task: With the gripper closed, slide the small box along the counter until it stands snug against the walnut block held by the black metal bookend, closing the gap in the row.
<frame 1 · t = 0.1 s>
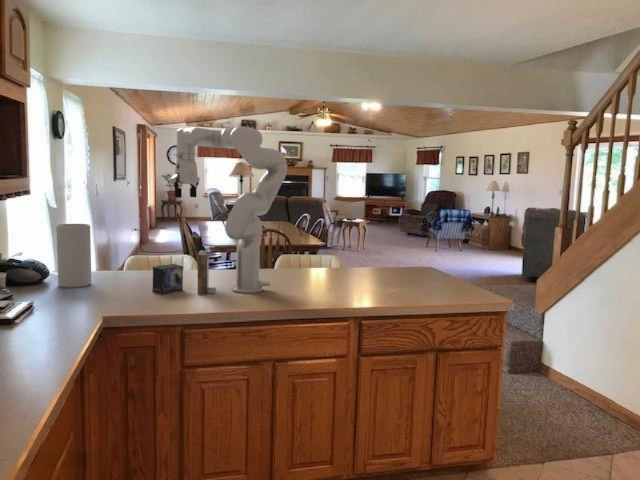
hand: (185, 197, 221), 37 cm above the worktop, tool pointing down, fingers open, 9 cm apart
metal bookend: (206, 291, 208), on the worktop
walnut block: (202, 291, 208), on the worktop
cylinder vase: (75, 285, 211), on the worktop
small box: (167, 292, 205), on the worktop
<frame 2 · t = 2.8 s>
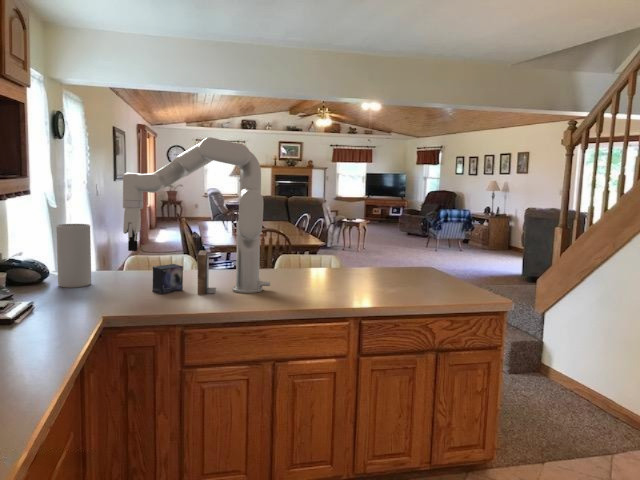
hand: (132, 250, 201), 17 cm above the worktop, tool pointing down, fingers closed
nothing on the worktop moved.
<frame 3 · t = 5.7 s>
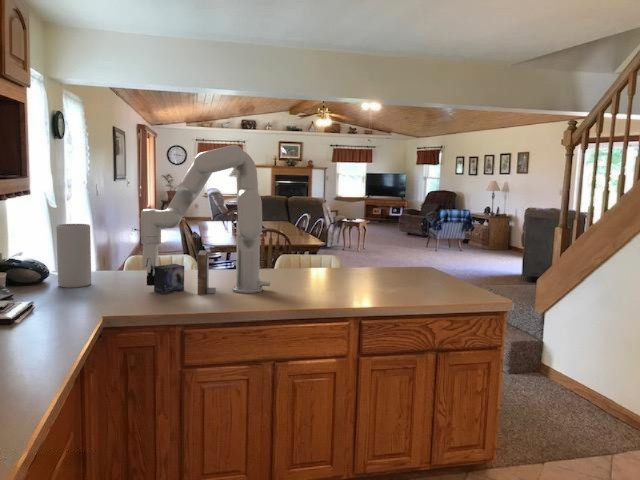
hand: (151, 285, 204), 3 cm above the worktop, tool pointing down, fingers closed
small box: (169, 291, 206), on the worktop, touching gripper
everything else where it was.
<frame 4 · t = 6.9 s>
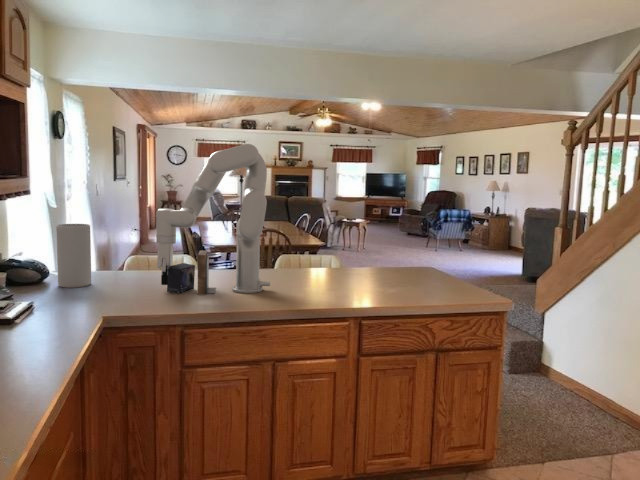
hand: (165, 284, 205), 3 cm above the worktop, tool pointing down, fingers closed
small box: (180, 291, 207), on the worktop, touching gripper
everything else where it was.
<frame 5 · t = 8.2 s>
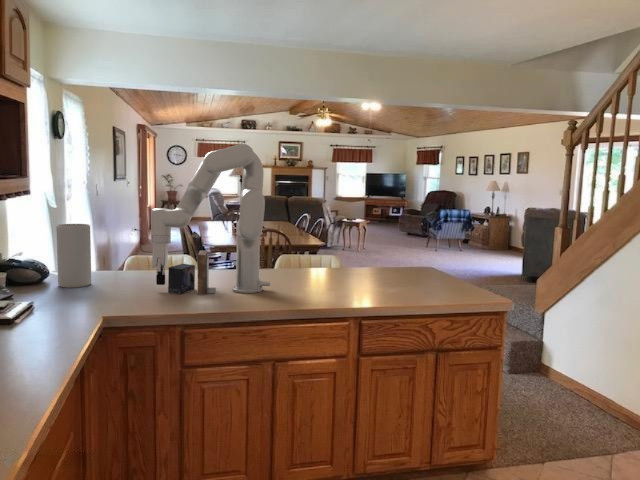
hand: (160, 284, 205), 3 cm above the worktop, tool pointing down, fingers closed
small box: (181, 291, 207), on the worktop
everything else where it was.
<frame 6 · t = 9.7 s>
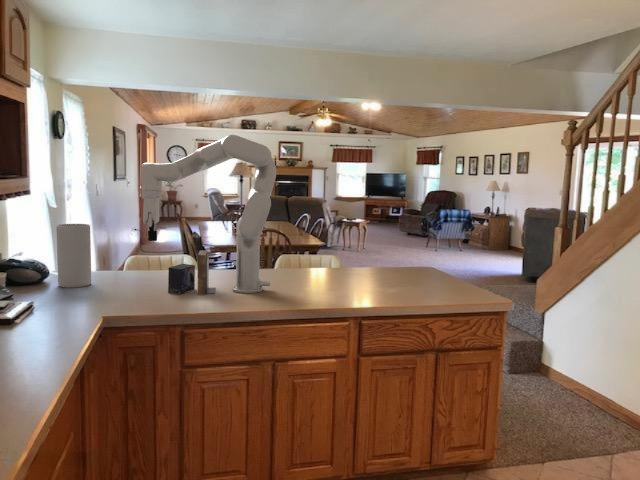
hand: (152, 240, 202), 21 cm above the worktop, tool pointing down, fingers closed
nothing on the worktop moved.
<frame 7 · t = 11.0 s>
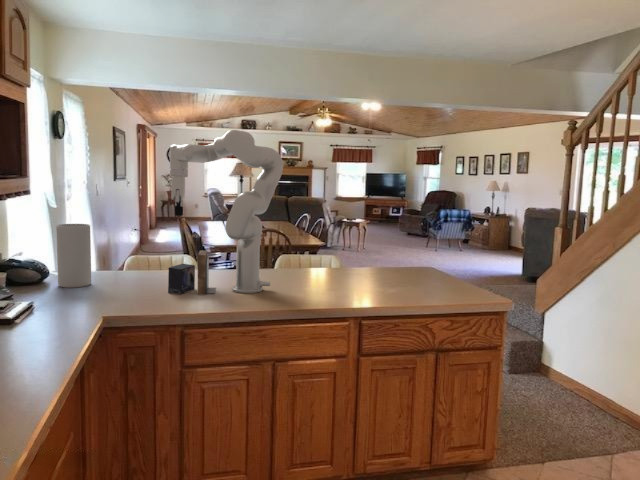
hand: (178, 215, 223), 29 cm above the worktop, tool pointing down, fingers closed
nothing on the worktop moved.
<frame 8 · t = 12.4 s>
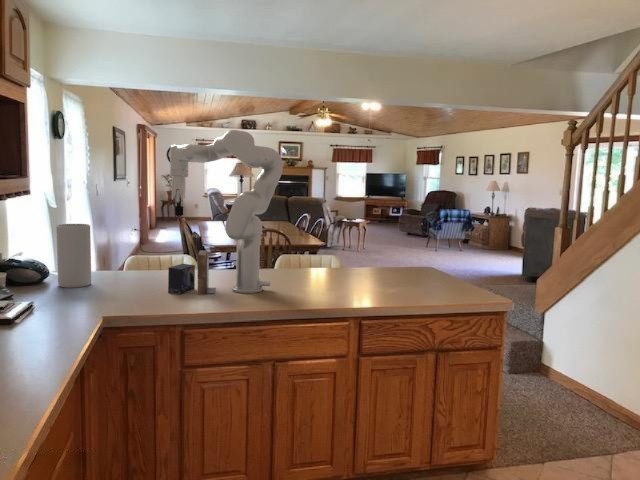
hand: (179, 215, 224), 29 cm above the worktop, tool pointing down, fingers closed
nothing on the worktop moved.
at the end: small box inside the target area (1.2 cm from its centre), on the worktop; small box tilted 0°; small box moved 5.5 cm from its start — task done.
